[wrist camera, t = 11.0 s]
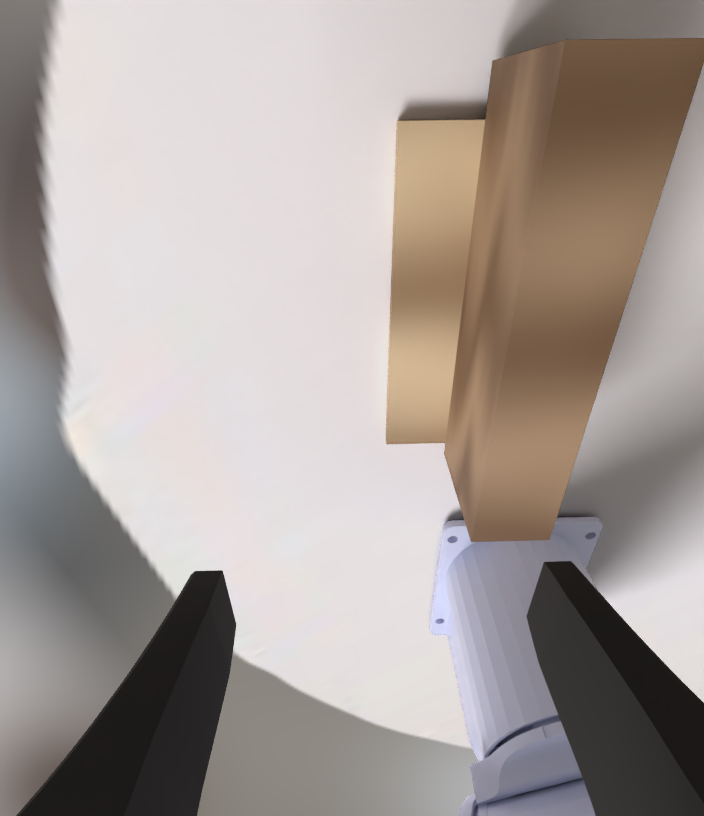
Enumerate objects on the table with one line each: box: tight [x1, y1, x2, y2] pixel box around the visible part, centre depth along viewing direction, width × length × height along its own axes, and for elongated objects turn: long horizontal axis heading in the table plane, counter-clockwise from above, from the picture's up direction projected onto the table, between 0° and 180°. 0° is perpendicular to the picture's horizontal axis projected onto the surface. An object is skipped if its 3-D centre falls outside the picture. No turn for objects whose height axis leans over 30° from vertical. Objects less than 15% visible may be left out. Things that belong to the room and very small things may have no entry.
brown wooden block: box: [444, 38, 704, 542], centre depth 15 cm, size 14×3×5 cm, turn 1°
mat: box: [386, 119, 485, 444], centre depth 17 cm, size 12×8×1 cm, turn 1°
